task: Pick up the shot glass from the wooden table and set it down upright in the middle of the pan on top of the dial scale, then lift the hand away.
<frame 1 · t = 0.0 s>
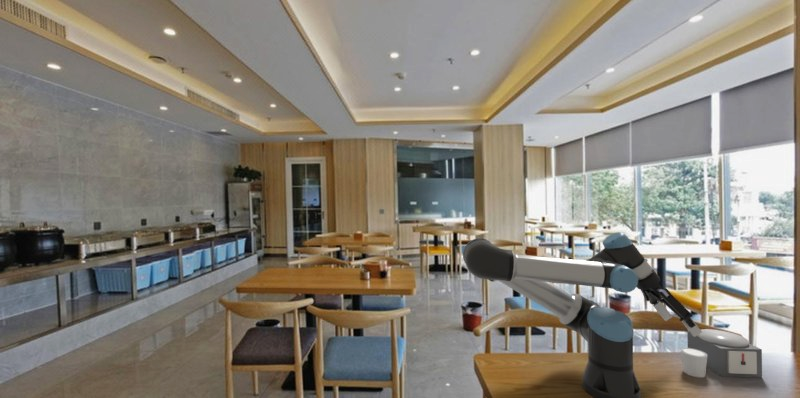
hand: (682, 326, 115), 15 cm above the table, tool tilted 35°, fingers open, 13 cm apart
dial scale: (722, 365, 119), on the table
shot glass: (693, 373, 114), on the table
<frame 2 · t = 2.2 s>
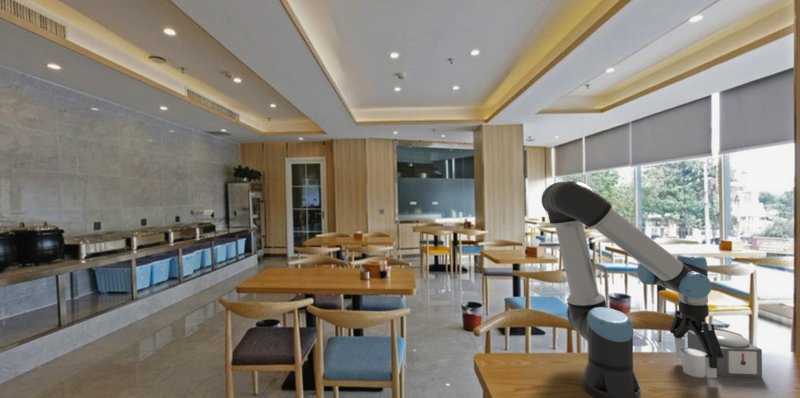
hand: (695, 366, 114), 2 cm above the table, tool pointing down, fingers open, 13 cm apart
nothing on the table moved.
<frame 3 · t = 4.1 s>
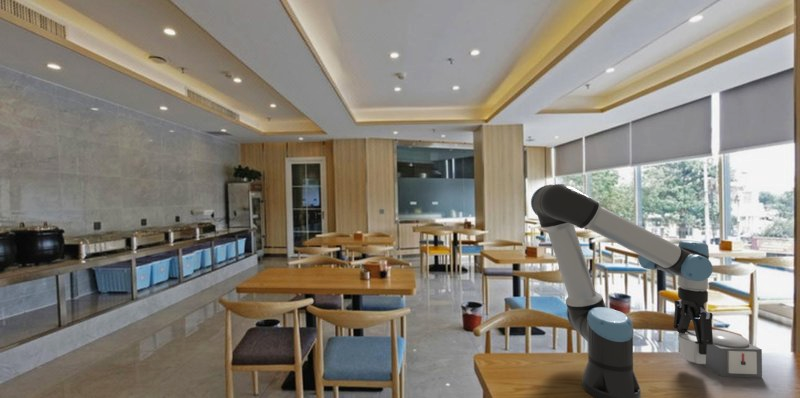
hand: (691, 357, 114), 5 cm above the table, tool pointing down, fingers closed on shot glass, 7 cm apart
shot glass: (691, 359, 114), point 4 cm above the table, touching gripper
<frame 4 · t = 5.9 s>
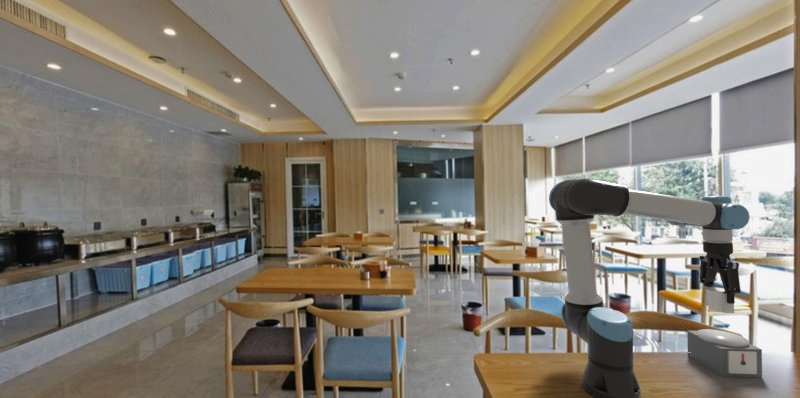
hand: (719, 308, 118), 20 cm above the table, tool pointing down, fingers closed on shot glass, 7 cm apart
shot glass: (719, 310, 118), point 19 cm above the table, touching gripper
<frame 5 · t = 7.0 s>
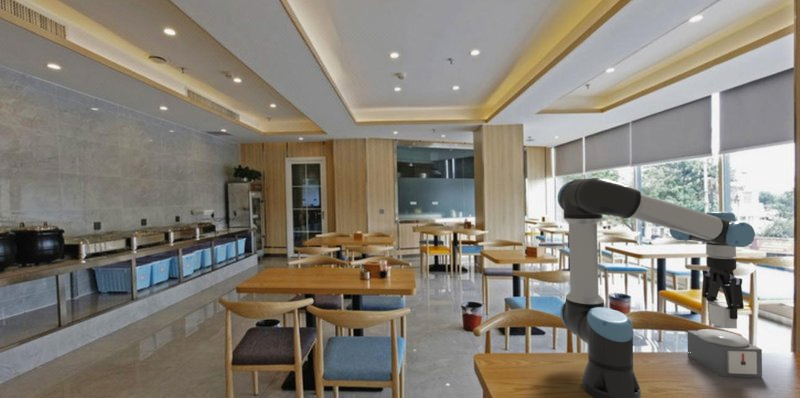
hand: (722, 323, 119), 14 cm above the table, tool pointing down, fingers closed on shot glass, 7 cm apart
shot glass: (722, 325, 119), point 14 cm above the table, touching gripper
when the fingers open (11 cm above the table, at t = 8.1 s): shot glass stays where it is, resting on dial scale.
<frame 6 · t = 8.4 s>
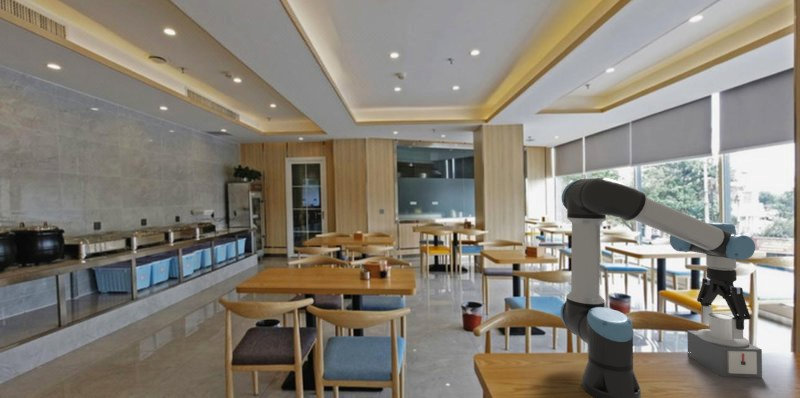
hand: (721, 331, 119), 12 cm above the table, tool pointing down, fingers open, 12 cm apart
shot glass: (721, 336, 119), point 10 cm above the table, touching dial scale
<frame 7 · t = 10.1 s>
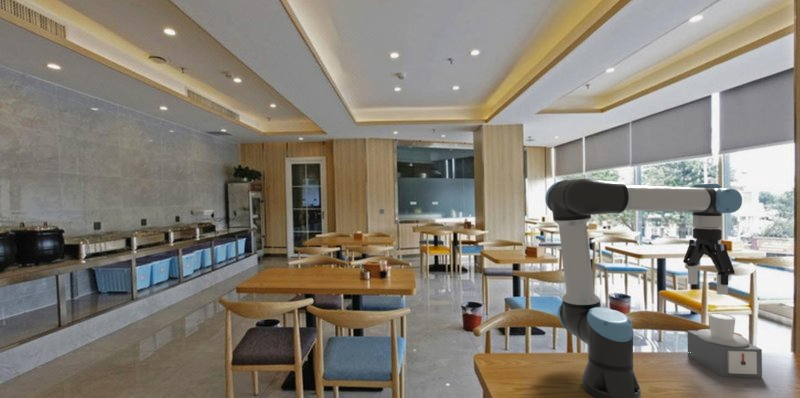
hand: (706, 288, 121), 26 cm above the table, tool pointing down, fingers open, 13 cm apart
nothing on the table moved.
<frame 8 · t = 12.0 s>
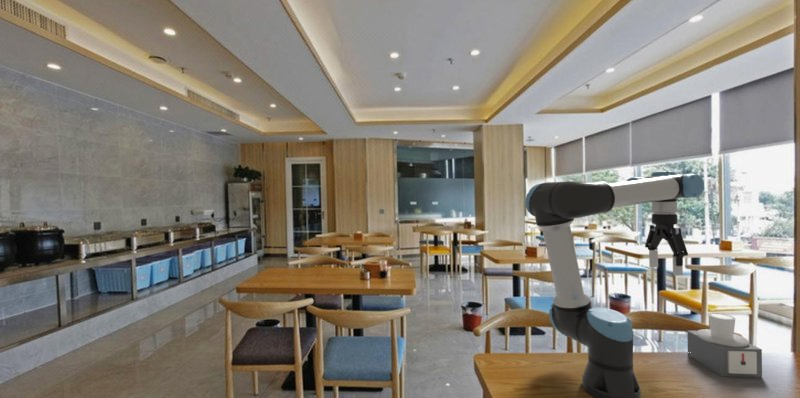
hand: (665, 270, 128), 31 cm above the table, tool pointing down, fingers open, 13 cm apart
nothing on the table moved.
at the end: shot glass inside the target area on the dial scale (0.0 cm from its centre), point 9.8 cm above the dial scale's base; shot glass tilted 0°; the gripper is holding nothing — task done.
